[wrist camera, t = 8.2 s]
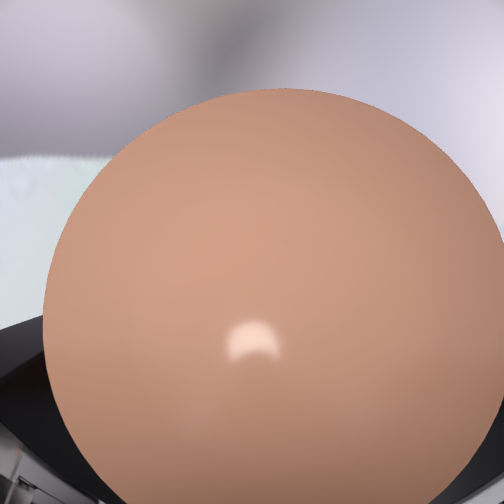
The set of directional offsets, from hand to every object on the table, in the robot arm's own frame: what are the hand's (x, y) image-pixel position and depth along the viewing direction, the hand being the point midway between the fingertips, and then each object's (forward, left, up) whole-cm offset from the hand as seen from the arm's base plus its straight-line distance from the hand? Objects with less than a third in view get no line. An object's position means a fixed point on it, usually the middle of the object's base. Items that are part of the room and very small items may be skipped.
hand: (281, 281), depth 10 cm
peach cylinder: (-1, 0, -7) cm, 7 cm away
